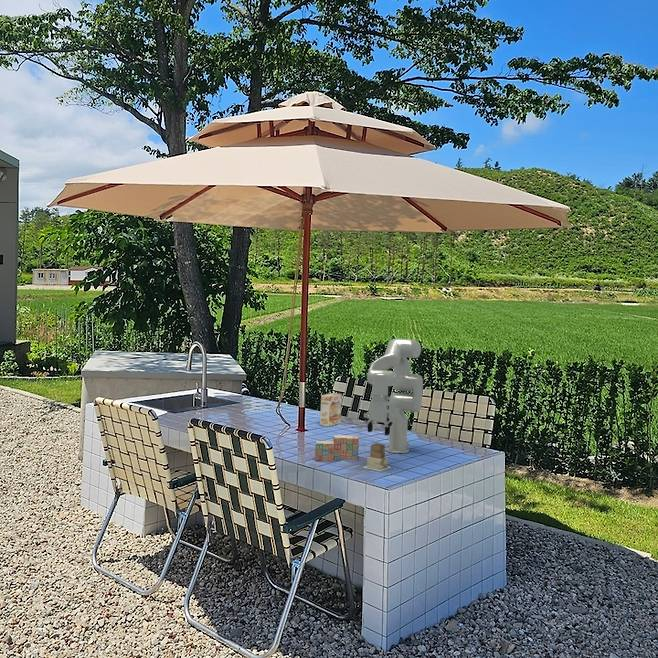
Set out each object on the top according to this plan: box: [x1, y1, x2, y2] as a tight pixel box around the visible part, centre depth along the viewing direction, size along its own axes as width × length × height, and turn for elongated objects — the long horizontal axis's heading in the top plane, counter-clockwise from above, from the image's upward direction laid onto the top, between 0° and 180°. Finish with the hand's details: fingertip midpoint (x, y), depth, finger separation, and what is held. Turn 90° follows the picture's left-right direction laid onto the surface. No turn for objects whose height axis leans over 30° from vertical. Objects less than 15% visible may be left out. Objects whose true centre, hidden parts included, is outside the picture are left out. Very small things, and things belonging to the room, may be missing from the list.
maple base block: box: [366, 456, 388, 470], centre depth 333 cm, size 7×7×5 cm
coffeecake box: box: [319, 392, 343, 427], centre depth 440 cm, size 15×7×20 cm, turn 148°
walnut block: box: [370, 442, 386, 459], centre depth 332 cm, size 5×5×6 cm
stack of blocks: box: [314, 434, 360, 462], centre depth 349 cm, size 21×6×12 cm, turn 95°
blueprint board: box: [356, 463, 398, 474], centre depth 333 cm, size 14×14×1 cm
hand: (378, 433), depth 332 cm, fingers open, 9 cm apart
